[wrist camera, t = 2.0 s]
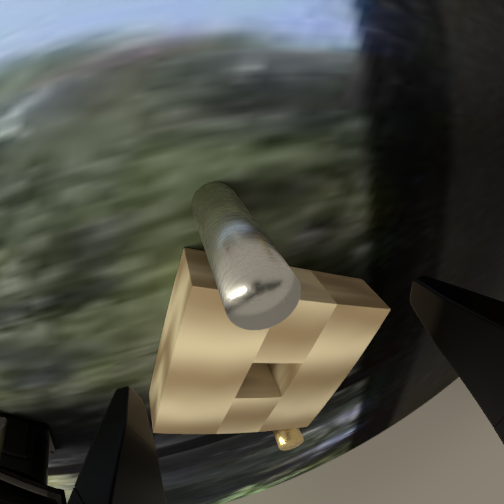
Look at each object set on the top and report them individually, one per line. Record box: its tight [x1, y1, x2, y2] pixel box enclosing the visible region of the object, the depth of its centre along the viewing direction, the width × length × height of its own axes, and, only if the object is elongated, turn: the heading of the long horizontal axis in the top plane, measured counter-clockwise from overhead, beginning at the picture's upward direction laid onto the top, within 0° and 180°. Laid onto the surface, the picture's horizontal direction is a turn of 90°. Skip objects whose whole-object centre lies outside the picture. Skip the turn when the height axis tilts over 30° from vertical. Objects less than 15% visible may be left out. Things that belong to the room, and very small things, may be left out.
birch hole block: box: [149, 248, 391, 434], centre depth 22 cm, size 14×14×4 cm
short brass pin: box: [272, 428, 304, 450], centre depth 29 cm, size 3×3×4 cm
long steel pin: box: [192, 182, 301, 330], centre depth 14 cm, size 3×3×9 cm
